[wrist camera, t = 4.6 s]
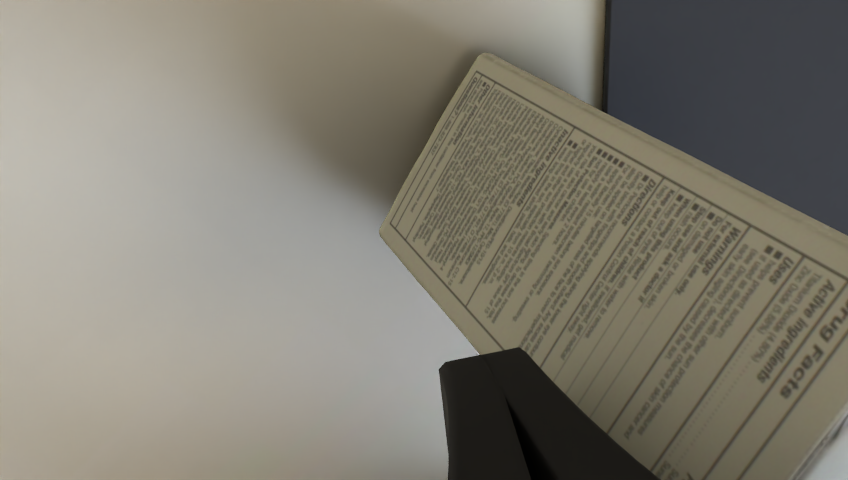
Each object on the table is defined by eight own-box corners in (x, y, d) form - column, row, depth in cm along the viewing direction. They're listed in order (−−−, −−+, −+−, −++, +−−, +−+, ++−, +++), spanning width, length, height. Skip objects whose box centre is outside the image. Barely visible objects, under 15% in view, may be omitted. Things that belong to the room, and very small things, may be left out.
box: (495, 280, 21) (837, 639, 12) (368, 231, 18) (681, 638, 9) (604, 112, 19) (1072, 373, 11) (484, 34, 17) (966, 291, 8)
